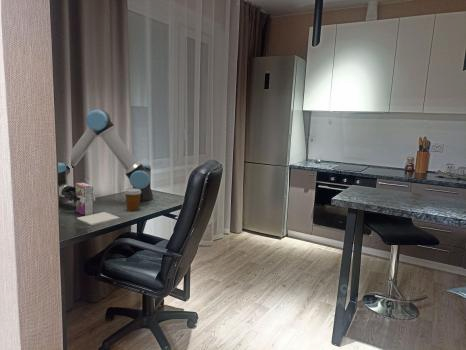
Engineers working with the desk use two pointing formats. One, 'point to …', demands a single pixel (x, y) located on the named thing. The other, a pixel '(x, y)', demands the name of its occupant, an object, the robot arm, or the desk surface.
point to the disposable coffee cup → (133, 198)
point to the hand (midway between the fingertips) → (89, 199)
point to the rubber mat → (98, 218)
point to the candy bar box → (87, 193)
